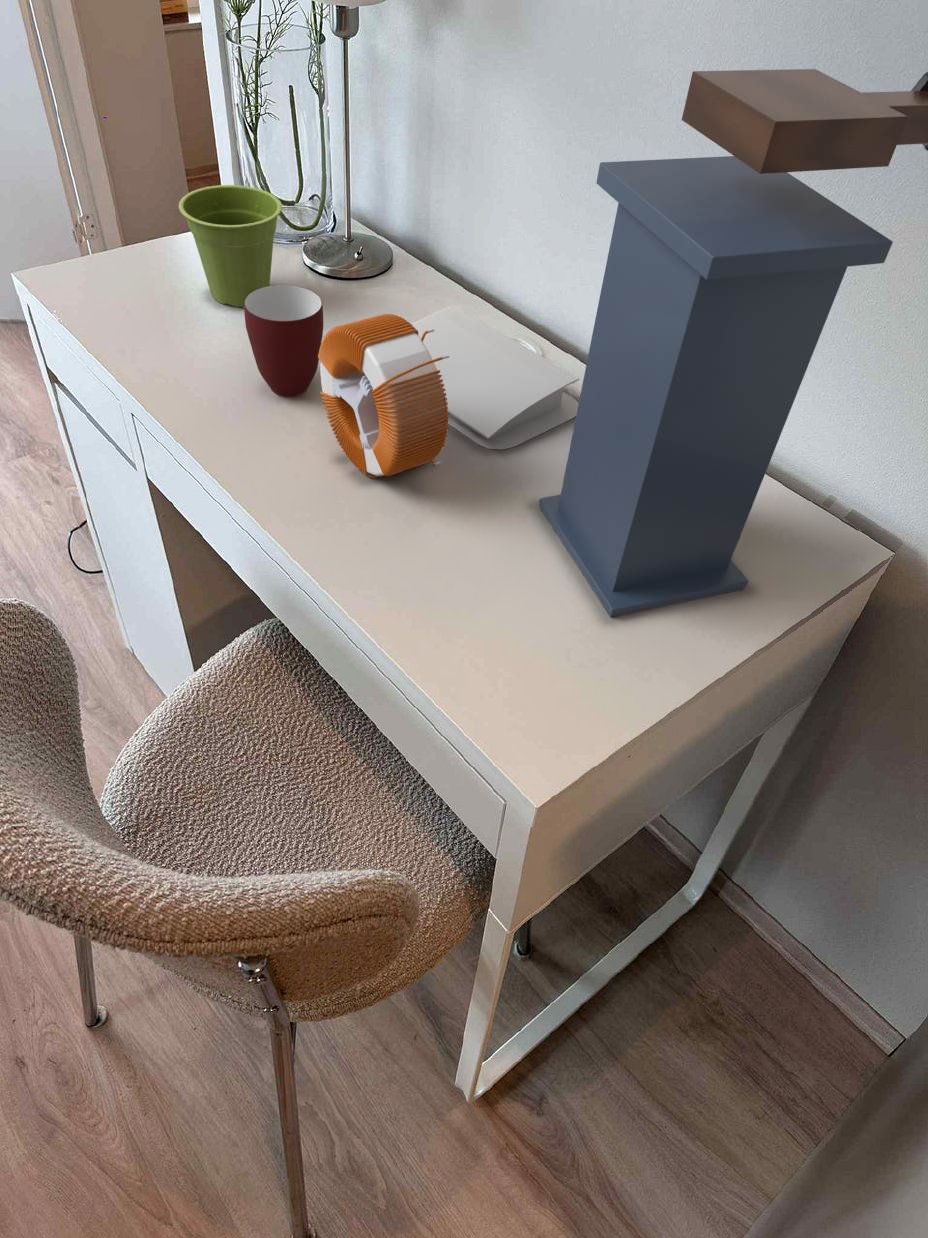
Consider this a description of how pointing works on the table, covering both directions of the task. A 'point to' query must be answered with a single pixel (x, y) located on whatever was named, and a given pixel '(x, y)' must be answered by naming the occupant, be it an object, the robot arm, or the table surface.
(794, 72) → the paddle
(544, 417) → the book
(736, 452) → the blue tapered column stand
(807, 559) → the table surface
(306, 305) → the mug
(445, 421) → the coil
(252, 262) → the plant pot
